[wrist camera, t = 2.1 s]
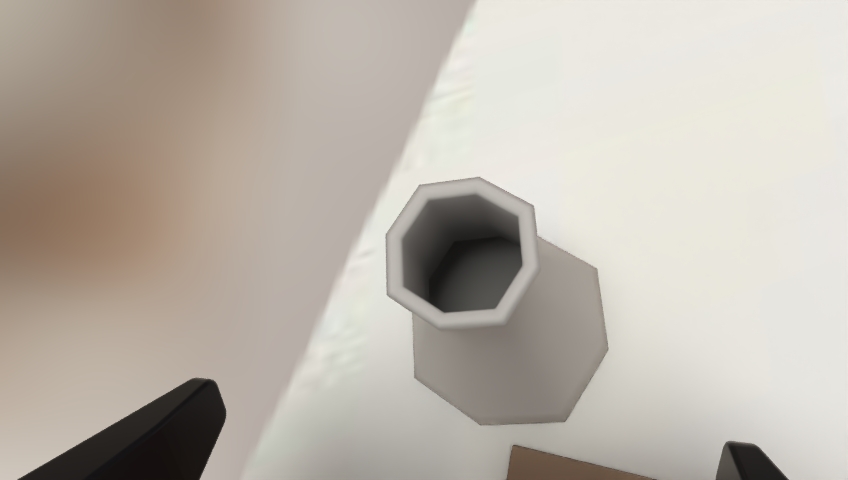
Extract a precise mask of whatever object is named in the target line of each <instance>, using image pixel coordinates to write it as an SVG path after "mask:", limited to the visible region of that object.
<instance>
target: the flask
mask: <svg viewBox="0 0 848 480" xmlns="http://www.w3.org/2000/svg"><path fill="white" fill-rule="evenodd" d="M386 279H387V295H388V296H389V297H390V298H391V299H393V300H394V301H396V302H397V303H399V304H400V305H402V306H403V307H405V308H406V309H408V310H409V311H411V312H412V319H413V348H414V377H415V379H417V380H418V381H420V382H421V383H422V384H424V385H425V386H427V387H428V388H429V389H431V390H432V391H434V392H435V393H436V394H438V395H439V396H441V397H442V398H443V399H445V400H446V401H448V402H449V403H450V404H452V405H453V406H454V407H456V408H457V409H459V410H460V411H461V412H463V413H464V414H466V415H467V416H468V417H470V418H471V419H473V420H474V421H475V422H477V423H478V424H480V425H493V424H519V423H544V422H565V421H566V419H567V417H568V416H569V414H570V412H571V411H572V409H573V407H574V406H575V404H576V402H577V401H578V399H579V397H580V396H581V394H582V392H583V391H584V389H585V387H586V386H587V384H588V382H589V381H590V379H591V377H592V376H593V374H594V372H595V371H596V369H597V367H598V366H599V364H600V362H601V361H602V359H603V357H604V356H605V354H606V352H607V351H608V343H607V336H606V329H605V322H604V315H603V308H602V301H601V294H600V287H599V280H598V273H597V268H595V267H593V266H591V265H590V264H588V263H586V262H584V261H582V260H580V259H579V258H577V257H575V256H573V255H571V254H570V253H568V252H566V251H564V250H562V249H560V248H559V247H557V246H555V245H553V244H551V243H550V242H548V241H546V240H544V239H542V238H540V237H539V236H537V228H536V219H535V210H534V206H533V205H531V204H530V203H528V202H526V201H524V200H522V199H520V198H518V197H516V196H514V195H513V194H511V193H509V192H507V191H505V190H503V189H501V188H499V187H497V186H496V185H494V184H492V183H490V182H488V181H486V180H484V179H482V178H480V177H475V178H468V179H460V180H453V181H445V182H438V183H430V184H423V185H419V186H418V188H417V189H416V191H415V192H414V194H413V195H412V197H411V198H410V200H409V201H408V202H407V204H406V205H405V207H404V208H403V210H402V211H401V213H400V214H399V216H398V217H397V219H396V220H395V222H394V223H393V225H392V226H391V228H390V229H389V230H388V232H387V233H386Z"/></svg>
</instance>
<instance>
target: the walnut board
mask: <svg viewBox="0 0 848 480" xmlns="http://www.w3.org/2000/svg"><path fill="white" fill-rule="evenodd" d="M507 480H656V479H652V478H648V477H644V476H640V475H635V474H631V473H627V472H623V471H619V470H615V469H611V468H607V467H603V466H599V465H595V464H590V463H586V462H582V461H578V460H574V459H570V458H566V457H562V456H558V455H554V454H550V453H545V452H541V451H537V450H533V449H529V448H525V447H521V446H517V445H513V446H512V451H511V457H510V463H509V469H508V475H507Z"/></svg>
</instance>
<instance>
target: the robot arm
mask: <svg viewBox="0 0 848 480" xmlns="http://www.w3.org/2000/svg"><path fill="white" fill-rule="evenodd" d="M225 419H226V408H225V405H224V403H223V399H222V397H221V394H220V391H219V388H218V385H217V383H216V382H215V381H214V380H211V379H204V378H193V379H191V380H189V381H187V382H185V383H184V384H182V385H180V386H178V387H177V388H175V389H173V390H172V391H170V392H168V393H166V394H165V395H163V396H161V397H159V398H158V399H156V400H154V401H152V402H151V403H149V404H147V405H146V406H144V407H142V408H140V409H139V410H137V411H135V412H133V413H132V414H130V415H129V416H127V417H125V418H123V419H121V420H120V421H118V422H116V423H114V424H113V425H111V426H109V427H108V428H106V429H104V430H102V431H101V432H99V433H97V434H96V435H94V436H92V437H91V438H89V439H87V440H85V441H83V442H82V443H80V444H78V445H76V446H75V447H73V448H71V449H70V450H68V451H66V452H65V453H63V454H61V455H59V456H57V457H56V458H54V459H52V460H51V461H49V462H47V463H45V464H44V465H42V466H40V467H39V468H37V469H35V470H33V471H31V472H30V473H28V474H26V475H25V476H23V477H21V478H19V479H18V480H200V477H201V475H202V473H203V470H204V468H205V466H206V464H207V461H208V459H209V457H210V455H211V452H212V450H213V448H214V446H215V443H216V441H217V439H218V437H219V434H220V432H221V430H222V427H223V425H224V423H225ZM716 480H789V479H788V478H787V477H786V476H785V475H784V474H783V473H782V472H781V471H780V470H779V468H778V467H777V466H776V465H775V464H774V463H773V462H772V461H771V460H770V459H769V457H768V456H767V455H766V454H765V453H764V452H763V451H762V450H761V449H760V448H759V447H758V446H756V445H755V444H751V443H744V442H735V441H728V442H726V443H725V445H724V447H723V451H722V455H721V459H720V463H719V467H718V471H717V475H716Z"/></svg>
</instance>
